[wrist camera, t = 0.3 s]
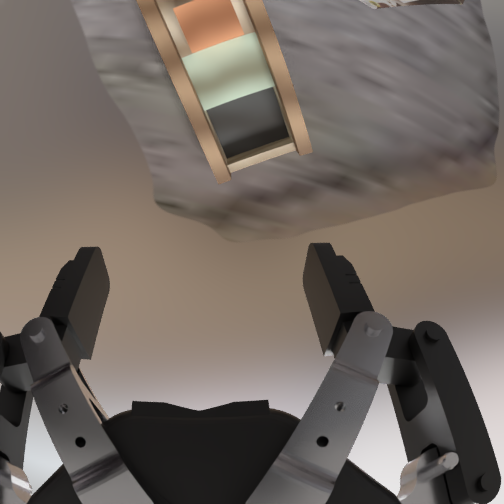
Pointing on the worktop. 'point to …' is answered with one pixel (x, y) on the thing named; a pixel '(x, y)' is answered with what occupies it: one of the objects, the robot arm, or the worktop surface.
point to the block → (208, 23)
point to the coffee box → (406, 2)
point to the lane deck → (232, 88)
